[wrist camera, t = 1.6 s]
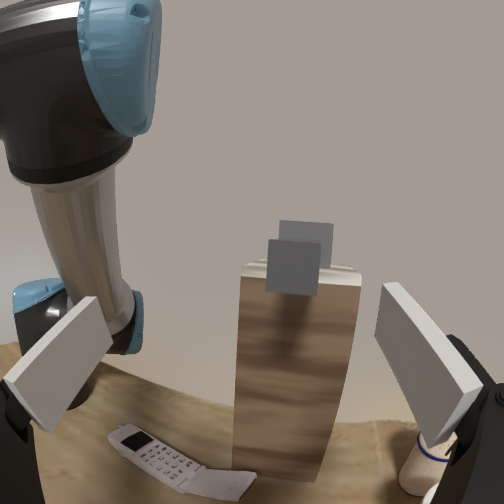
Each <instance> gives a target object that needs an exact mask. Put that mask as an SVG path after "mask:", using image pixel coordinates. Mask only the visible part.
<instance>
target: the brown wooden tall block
mask: <svg viewBox="0 0 504 504" xmlns="http://www.w3.org/2000/svg"><path fill="white" fill-rule="evenodd" d="M266 273H267V259H260V260H257V261H254V262H252V263H249V264H246V265H243V266H242V268H241V283H240V284H241V285H240V301H239V320H238V339H237V340H238V341H237V359H236V360H237V361H236V380H235V401H234V425H233V450H232V470H234V471H250V472H255V473H256V474H257V475H259V476H265V477H271V478H278V479H286V480H295V481H306V482H315V479H316V477H317V474H318V471H319V469H320V466H321V463H322V460H323V457H324V454H325V451H326V448H327V445H328V442H329V438H330V435H331V432H332V429H333V425H334V422H335V418H336V414H337V411H338V407H339V403H340V399H341V395H342V391H343V387H344V382H345V378H346V373H347V369H348V364H349V359H350V354H351V349H352V343H353V338H354V332H355V326H356V320H357V313H358V306H359V299H360V290H361V282H362V275H360V274H359V273H358V272H357V271H355V270H354V269H353V268H352V267H351V266H345V265H331V266H330V269H322V268H320V269H319V280H318V290H317V296H308V295H297V294H287V293H276V292H266V291H265V287H266Z"/></svg>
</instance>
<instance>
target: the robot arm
mask: <svg viewBox="0 0 504 504" xmlns="http://www.w3.org/2000/svg"><path fill="white" fill-rule="evenodd" d="M161 25H162V9H161V3H160V0H25V1H22V2H19V3H16V4H13V5H9V6H7V7H4V8H1V9H0V139H2V140H3V142H4V145H5V150H6V155H7V160H8V165H9V168H10V172H11V174H12V176H13V177H14V178H15V179H16V180H17V181H18V182H20V183H21V184H24V185H27V186H30V188H31V192H32V196H33V200H34V204H35V207H36V211H37V214H38V218H39V221H40V224H41V227H42V230H43V233H44V236H45V239H46V242H47V245H48V248H49V250H50V253H51V256H52V258H53V261H54V263H55V266H56V268H57V270H58V273H59V275H60V278H61V279H59V278H48V279H41V280H35V281H31V282H27V283H24V284H21V285H19V286H18V287H16V288H15V289H14V291H13V313H14V318H15V324H16V329H17V335H18V340H19V345H20V349H21V353H22V358H21V359H20V360H19V361H18V362H17V363H16V364H15V365H14V367H13V368H12V369H11V370H10V371H9V372H8V373H7V374H6V375H5V376H4V378H3V380H2V381H1V382H0V504H45V500H44V496H43V492H42V487H41V483H40V478H39V472H38V466H37V460H36V452H35V444H34V433H33V427H32V425H31V424H30V423H29V422H30V421H31V419H32V420H33V421H34V422H35V423H36V425H37V426H38V427H39V428H40V429H42V430H44V431H46V432H48V433H50V434H52V432H53V431H54V429H55V427H56V426H57V424H58V423H59V421H60V419H61V418H62V416H63V415H64V413H65V412H66V410H69V409H72V408H75V407H77V406H78V405H80V404H81V403H82V402H84V401H85V399H86V398H87V396H88V392H89V390H88V385H87V381H86V380H87V379H88V377H89V376H90V375H91V373H92V372H93V370H94V369H95V367H96V366H97V365H98V363H99V362H100V360H101V359H102V358H103V356H104V355H105V354H120V355H127V354H136V353H138V352H139V351H140V350H141V347H142V342H143V333H142V332H143V322H144V320H143V319H144V309H143V297H142V294H141V293H140V292H139V291H134V290H131V288H130V287H129V285H128V284H127V283H126V282H125V281H124V280H123V279H122V276H121V268H120V259H119V249H118V239H117V224H116V203H115V166H116V165H117V164H118V163H119V162H121V161H122V160H123V159H124V157H126V155H127V154H128V153H129V151H130V149H131V147H132V143H133V137H136V136H137V135H140V134H144V133H146V132H147V131H148V130H149V128H150V126H151V123H152V118H153V113H154V105H155V93H156V84H157V77H158V67H159V55H160V43H161V27H162V26H161ZM374 336H375V338H376V340H377V342H378V343H379V345H380V347H381V349H382V351H383V353H384V355H385V357H386V359H387V361H388V363H389V365H390V367H391V369H392V371H393V373H394V375H395V377H396V379H397V381H398V383H399V385H400V387H401V389H402V391H403V393H404V396H405V398H406V400H407V402H408V404H409V406H410V408H411V411H412V413H413V415H414V417H415V420H416V422H417V424H418V427H419V429H420V431H421V434H422V436H423V438H424V441H425V443H426V446H427V448H428V449H429V448H432V447H434V446H437V445H439V444H442V443H444V442H447V440H448V439H449V438H450V436H451V435H452V434H453V432H455V434H456V436H457V439H456V440H455V442H454V443H453V444H452V445H451V447H450V448H449V449H448V450H447V452H446V453H445V456H447V455H448V454H449V453H450V452H451V454H450V457H449V459H448V462H447V465H446V468H445V470H444V473H443V475H442V478H441V480H440V482H439V485H438V487H437V489H436V491H435V494H434V496H433V498H432V500H431V502H430V504H504V383H499V384H496V383H495V382H494V381H493V379H492V378H491V377H490V376H489V374H488V373H487V372H486V370H485V369H484V368H483V366H482V365H481V364H480V363H479V361H478V360H477V359H476V358H475V357H474V355H473V354H472V353H471V351H469V349H468V348H467V347H466V345H465V344H464V343H463V342H462V341H461V340H460V339H458V338H456V337H455V336H453V335H452V334H450V335H447V336H445V335H444V334H443V332H442V331H441V330H440V329H439V328H438V326H437V325H436V324H435V323H434V322H433V321H432V319H430V317H429V316H428V315H427V314H426V313H425V311H424V310H423V309H422V308H421V307H420V306H419V305H418V304H417V302H416V301H415V300H414V299H413V298H412V297H411V296H410V295H409V294H408V293H407V292H406V291H405V289H403V287H402V286H401V285H400V284H399V283H398V282H393V283H384V284H382V290H381V298H380V305H379V311H378V318H377V324H376V330H375V335H374Z"/></svg>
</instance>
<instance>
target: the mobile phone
mask: <svg viewBox="0 0 504 504" xmlns="http://www.w3.org/2000/svg"><path fill="white" fill-rule="evenodd" d="M118 426H119V429H117V430H115V431H113V432H111V433H109V434H107V438H108V441H109V443H110V444H111V445H112V446H113V447H114V448H115V449H116V450H118V452H119V454H120V455H121V456H122V457H124V458H125V457H126V458H127V459H129V460H130V461H131V462H133V463H134V464H135V465H137V466H138V467H139V468H141V469H142V470H144V471H145V472H146V473H148V474H149V475H151V476H152V477H154V478H156V479H157V480H159V481H160V482H162V483H164V484H165V485H167V486H169V487H171V488H172V489H174V490H176V491H178V492H179V493H181V494H186V493H187V492H188V493H192V494H196V495H200V496H204V497H209V498H213V499H218V500H224V501H239V500H240V499H241V498H242V496H243V495H244V494H245V493H246V492H247V491H248V489H249V488H250V487H251V486H252V484H253V483H254V481H255V480H256V478H257V474H256V473H255V472H250V471H225V470H213V469H206V467H205V466H203V465H202V466H201V465H200V464H198V463H196V462H194V461H192V460H191V459H189V458H187V457H185V456H184V455H182V454H180V453H179V452H177V451H175V450H174V449H172V448H170V447H168V446H167V445H165V444H163V443H162V442H160V441H159V440H158V439H156V438H154V437H153V436H151V435H149V434H148V433H146V432H145V431H143V430H141V429H140V428H138V427H136V426H134V425H133V424H130V423H129V424H126V425H124V426H123V425H122V424H119V425H118Z"/></svg>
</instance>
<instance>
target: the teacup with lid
mask: <svg viewBox="0 0 504 504" xmlns="http://www.w3.org/2000/svg"><path fill="white" fill-rule="evenodd" d="M456 439H457V436H456V434H455V432H453V434H452V435H451V436H450V438H449V439H448V440H447V442H444V443H442V444H439V445H437V446H434V447H432V448H429V449H428V448H427V446H426V443H425V441H424V438H423V436H422V434H421V431H419V434H418V437H417V442H416V444H415V446H414V448H413V449H412V451H411V453H410V455H409V457H408V459H407V460H406V462H405V464H404V466H403V467H402V469H401V471H400V473H399V483H400V485H401V487H402V488H403V489H404V490H405V491H406V492H408V493H409V494H412V495H415V496H425V494H426V493H427V492H428V490H429V489H430V488H431V487H433V486H434V485H435V484H437V483H439V482H440V480H441V478H442V475H443V473H444V470H445V468H446V465H447V462H448V459H449V457H450V454H451V452H450V453H449V454H448V455H447V456H445V453H446V452H447V450H448V449H449V448H450V447H451V445H452V444H453V443H454V442H455V440H456Z"/></svg>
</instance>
